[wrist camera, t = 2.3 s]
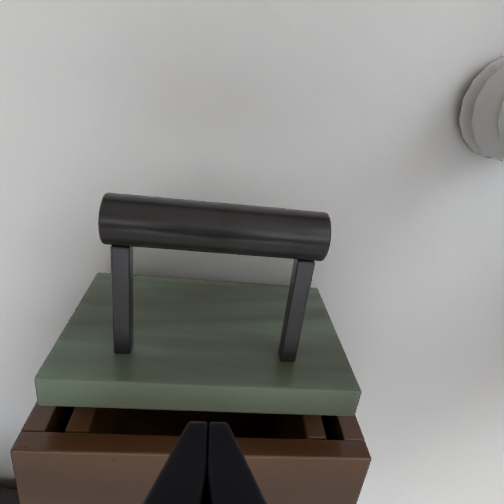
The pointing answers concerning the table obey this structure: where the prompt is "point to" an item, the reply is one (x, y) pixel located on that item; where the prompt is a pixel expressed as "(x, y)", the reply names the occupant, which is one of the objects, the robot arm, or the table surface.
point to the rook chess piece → (485, 112)
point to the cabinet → (157, 452)
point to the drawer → (201, 330)
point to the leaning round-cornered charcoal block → (9, 496)
